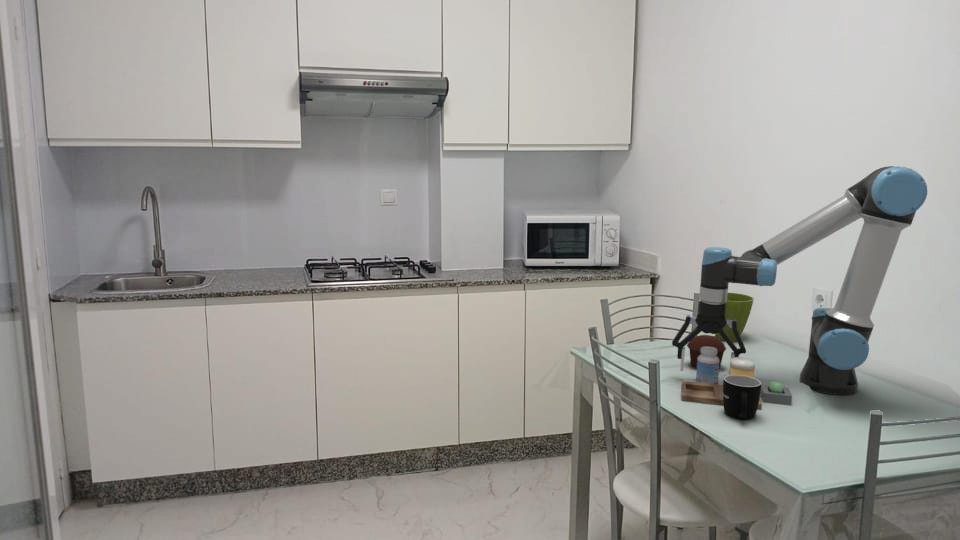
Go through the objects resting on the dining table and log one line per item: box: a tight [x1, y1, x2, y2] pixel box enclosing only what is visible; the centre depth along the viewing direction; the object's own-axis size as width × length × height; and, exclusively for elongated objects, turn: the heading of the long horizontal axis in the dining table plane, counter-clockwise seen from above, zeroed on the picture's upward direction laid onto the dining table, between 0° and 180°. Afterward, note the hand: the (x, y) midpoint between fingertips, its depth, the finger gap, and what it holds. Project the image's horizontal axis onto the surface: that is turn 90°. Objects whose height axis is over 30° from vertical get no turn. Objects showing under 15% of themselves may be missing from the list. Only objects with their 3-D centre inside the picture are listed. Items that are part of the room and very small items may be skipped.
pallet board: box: [680, 380, 763, 411], centre depth 179 cm, size 20×12×2 cm, turn 73°
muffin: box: [686, 334, 727, 370], centre depth 207 cm, size 12×11×10 cm
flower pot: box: [715, 292, 754, 343], centre depth 238 cm, size 15×15×16 cm
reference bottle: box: [729, 356, 756, 378], centre depth 177 cm, size 6×6×11 cm
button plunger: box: [769, 380, 785, 393], centre depth 178 cm, size 3×3×4 cm
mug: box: [722, 374, 762, 421], centre depth 166 cm, size 12×9×10 cm
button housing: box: [760, 384, 793, 406], centre depth 178 cm, size 7×7×4 cm
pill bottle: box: [695, 347, 720, 385], centre depth 190 cm, size 6×6×11 cm
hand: (706, 372), depth 191 cm, fingers open, 13 cm apart
